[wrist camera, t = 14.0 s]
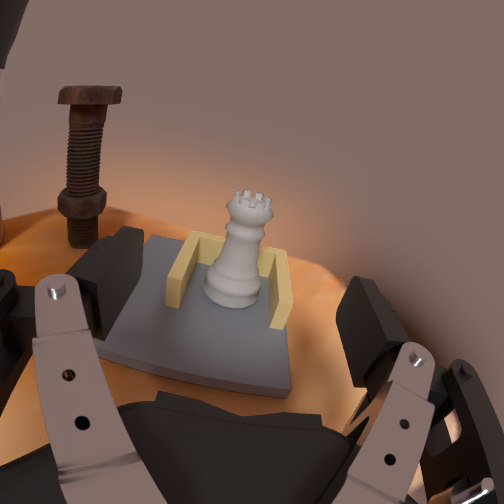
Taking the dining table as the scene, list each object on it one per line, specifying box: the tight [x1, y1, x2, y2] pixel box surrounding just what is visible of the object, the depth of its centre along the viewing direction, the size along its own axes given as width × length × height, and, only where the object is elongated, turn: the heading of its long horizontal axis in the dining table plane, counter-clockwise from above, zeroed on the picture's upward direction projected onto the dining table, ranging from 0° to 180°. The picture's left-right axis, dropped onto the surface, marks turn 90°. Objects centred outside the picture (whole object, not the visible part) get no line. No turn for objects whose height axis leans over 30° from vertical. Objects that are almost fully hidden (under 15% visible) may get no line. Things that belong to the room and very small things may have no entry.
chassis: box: [93, 230, 294, 398], centre depth 21 cm, size 13×15×4 cm
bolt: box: [58, 86, 122, 248], centre depth 22 cm, size 6×5×15 cm
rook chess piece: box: [203, 190, 274, 310], centre depth 21 cm, size 4×4×8 cm
